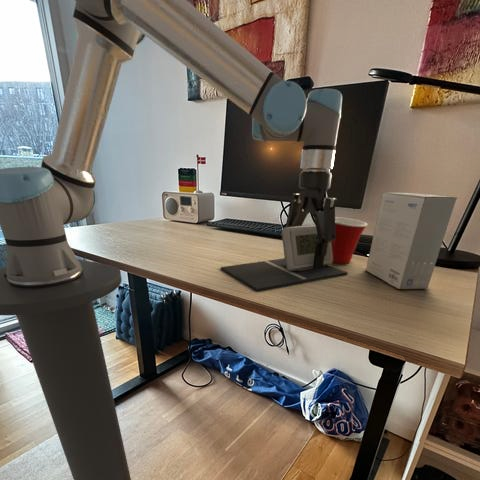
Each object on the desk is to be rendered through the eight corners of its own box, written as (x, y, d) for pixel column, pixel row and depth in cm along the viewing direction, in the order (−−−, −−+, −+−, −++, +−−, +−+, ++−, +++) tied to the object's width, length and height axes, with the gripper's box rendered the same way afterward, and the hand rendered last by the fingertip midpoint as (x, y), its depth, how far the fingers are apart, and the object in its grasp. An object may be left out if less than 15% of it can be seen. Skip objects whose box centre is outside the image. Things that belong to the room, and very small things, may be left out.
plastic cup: (356, 268, 83) (365, 224, 78) (317, 262, 88) (323, 220, 82) (362, 259, 92) (371, 219, 86) (327, 254, 96) (333, 215, 91)
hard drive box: (428, 289, 69) (459, 197, 60) (398, 290, 68) (425, 196, 59) (389, 269, 83) (409, 191, 74) (364, 270, 82) (381, 191, 73)
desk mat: (256, 291, 66) (257, 288, 66) (220, 269, 80) (220, 266, 79) (347, 274, 78) (347, 271, 78) (302, 257, 92) (302, 255, 92)
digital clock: (286, 273, 75) (290, 230, 71) (271, 263, 83) (274, 224, 78) (340, 268, 80) (347, 228, 76) (321, 260, 88) (326, 222, 83)
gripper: (364, 172, 64) (345, 272, 75) (298, 170, 82) (290, 252, 92) (339, 171, 61) (323, 276, 71) (276, 170, 78) (270, 254, 88)
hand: (304, 262), depth 81 cm, fingers open, 9 cm apart
